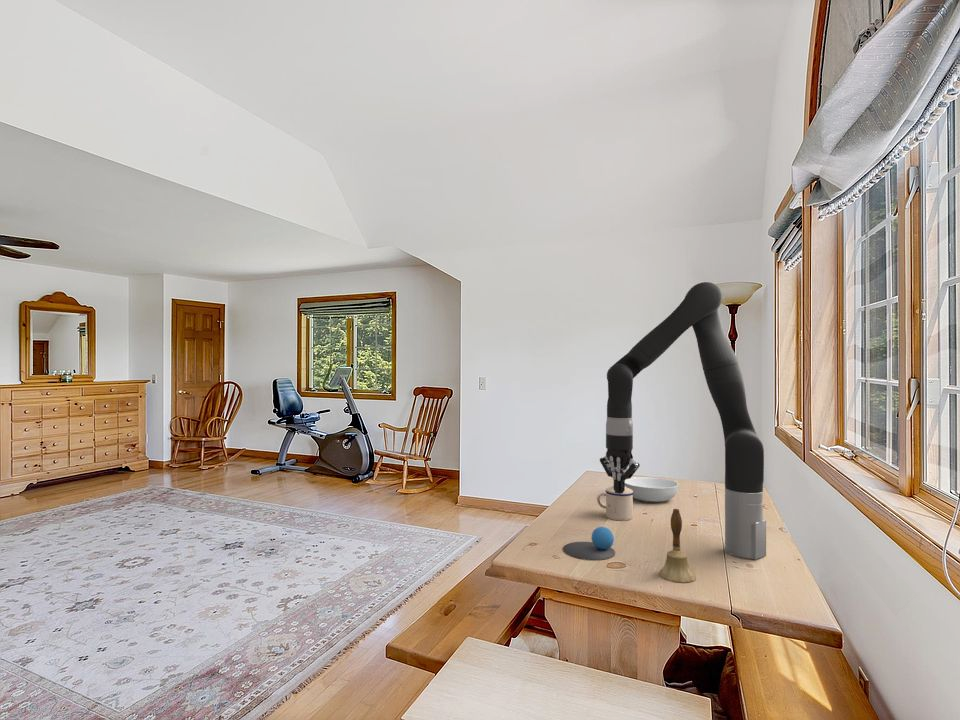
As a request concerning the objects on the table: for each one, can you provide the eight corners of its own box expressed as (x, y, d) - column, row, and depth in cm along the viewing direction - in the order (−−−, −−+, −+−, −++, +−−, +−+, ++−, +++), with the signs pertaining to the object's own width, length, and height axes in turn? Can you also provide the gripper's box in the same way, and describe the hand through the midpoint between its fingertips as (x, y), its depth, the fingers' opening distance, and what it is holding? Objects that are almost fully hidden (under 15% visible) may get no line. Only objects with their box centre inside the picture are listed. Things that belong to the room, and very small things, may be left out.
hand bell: (654, 577, 123) (654, 510, 123) (663, 566, 130) (663, 503, 130) (691, 586, 118) (691, 516, 119) (698, 574, 125) (698, 508, 126)
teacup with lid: (635, 515, 176) (635, 481, 176) (630, 522, 168) (631, 486, 168) (600, 511, 181) (600, 477, 181) (594, 517, 173) (594, 482, 173)
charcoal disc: (626, 552, 139) (626, 552, 139) (591, 564, 131) (591, 563, 131) (586, 539, 151) (586, 538, 151) (552, 548, 142) (552, 548, 142)
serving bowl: (675, 495, 205) (675, 478, 205) (681, 509, 185) (681, 489, 185) (621, 491, 211) (621, 474, 211) (621, 504, 191) (621, 485, 191)
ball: (609, 534, 138) (607, 555, 138) (617, 527, 143) (616, 548, 143) (588, 528, 141) (587, 549, 142) (597, 521, 146) (596, 541, 147)
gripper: (646, 434, 146) (646, 495, 146) (609, 429, 157) (608, 487, 156) (630, 436, 142) (630, 499, 141) (592, 431, 152) (592, 490, 152)
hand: (619, 492), depth 149 cm, fingers closed
